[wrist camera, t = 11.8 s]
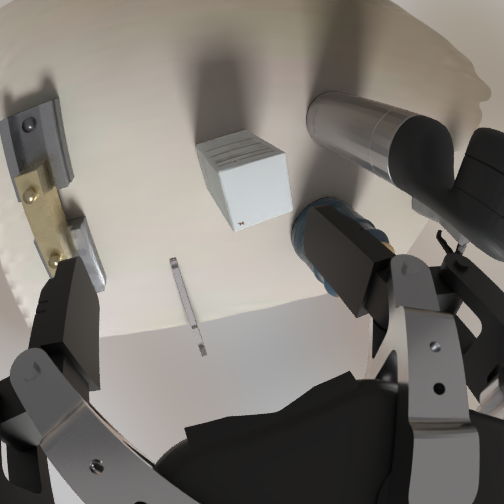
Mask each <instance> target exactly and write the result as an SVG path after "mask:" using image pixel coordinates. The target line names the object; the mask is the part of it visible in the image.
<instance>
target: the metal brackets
mask: <svg viewBox="0 0 504 504" xmlns="http://www.w3.org/2000/svg"><path fill="white" fill-rule="evenodd" d="M0 135H1V140H2V144H3V149H4V153H5V157H6V161H7V165H8V169H9V172H10V176H11V179H12V183H13V186H14V189H15V192H16V196H17V199H18V202H21V199H20V196H19V193H18V189H17V186H16V183H15V180H14V178H15V177H16V176H17V175H18V174H19V173H20V172H21V171H22V170H23V169H24V168H25V167H26V166H27V165H29V164H31V163H34V162H37V161H40V160H43V159H46V158H49V162H50V166H51V170H52V174H53V178H54V181H55V185H56V187H57V190H58V189H61V188H65V187H68V185H69V183H70V182H72V180H73V178H74V174H73V170H72V166H71V161H70V157H69V152H68V148H67V143H66V138H65V133H64V127H63V121H62V115H61V109H60V102H59V98H58V99H55V100H51V101H48V102H46V103H43V104H40V105H38V106H35V107H33V108H30V109H27V110H25V111H23V112H20V113H18V114H15V115H13V116H11V117H8V118H6V119H4V120H2V121H0ZM67 224H68V226H69V229H70V232H71V235H72V238H73V240H74V243H75V246H76V248H77V254H76V257H77V256H80V257H81V258H82V260H83V262H84V265H85V267H86V270H87V272H88V274H89V277H90V279H91V281H92V284H93V286H94V288H95V290H96V293H98V292H103V291H104V289H105V285H106V274H105V272H104V269H103V267H102V264H101V261H100V259H99V256H98V253H97V250H96V247H95V245H94V242H93V239H92V236H91V233H90V230H89V227H88V224H87V220H86V217H85V216H83V217H80V218H76V219H72V220H69V221H67ZM34 244H35V246H36V248H37V251H38V253H39V255H40V257H41V260H42V262H43V264H44V266H45V268H46V270H47V272H48V274H49V277H50V279H51V278H54V276H53V277H52V275H51V273H50V271H49V269H48V267H47V264H46V262H45V260H44V258H43V256H42V253H41V251H40V249H39V246H38V244H37V242H36V239H35V240H34Z"/></svg>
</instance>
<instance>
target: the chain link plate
mask: <svg viewBox="0 0 504 504" xmlns="http://www.w3.org/2000/svg"><path fill="white" fill-rule="evenodd" d="M14 180H15V183H16V186H17V189H18V193H19V196H20V199H21V202H22V205H23V208H24V210H25V213H26V216H27V219H28V221H29V224H30V227H31V229H32V232H33V234H34V237H35V239H36V242H37V244H38V246H39V249H40V251H41V253H42V256H43V258H44V260H45V262H46V264H47V267H48V269H49V271H50V273H51V275H52V277H53V276H55V272H56V269H57V265H58V262H59V261H61V260H65V259H69V258H73V257H76V254H77V248H76V246H75V243H74V240H73V238H72V235H71V232H70V229H69V226H68V224H67V221H66V218H65V215H64V212H63V208H62V205H61V202H60V199H59V195H58V192H57V189H56V185H55V181H54V178H53V174H52V170H51V166H50V162H49V158H46V159H43V160H40V161H37V162H34V163H31V164H29V165H27V166H26V167H25V168H24V169H23V170H22V171H21V172H20V173H19V174H18V175H17V176H16V177H15V178H14Z"/></svg>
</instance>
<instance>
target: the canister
mask: <svg viewBox="0 0 504 504" xmlns="http://www.w3.org/2000/svg"><path fill="white" fill-rule="evenodd" d="M325 204H329V205H331V206H332V207H334V208H335V209H336V210H337V211H339V212H340V213H341V214H342V215H345V216H347V217H349V218H351V219H353V220H355V221H356V222H358V223H359V224H360V225H361V226H363V227H364V230H365V229H366V230H367V231H369V232H370V233H371V235H372V236H374V237H376V238H377V239H378V240H379V241H380V242H381V243H383V244H384V245H385V246H386V247H387V248H388V249H390V250H391V251H392V252H393V253H394V254H395V252H394V249H393V247H392V246H391V245H390V244H389V240H388V237H387V235H386V234H385V233H384V232H383V231H381V230H379V229H376V228H375V226H374V225H373V224H372V223H371V222H370V221H369V220H367V219H365V218H363V217H362V216H361V215H359V214H358V213H357V212H356V211H354V210H353V209H352V207H351V206H349V205H348V204H347V203H345V202H344V201H341V200H338V199H336V198H323V199H320V200H317V201H315V202H313V203H312V204H310V205H309V206H308V207H306V208H305V209H304V210H303V211H302V212H301V214H300V215H299V216H298V218H297V220H296V222H295V224H294V226H293V229H292V236H291V239H292V244H293V247H294V249H295V252H296V253H297V255H298V256H299V257H300V259H301V260H302V261H304V262H305V263H306V264H307V266H308V267H309V268H310V269H311V270H312V272H313V273H314V275H315V277H316V278H317V279H318V280H319V281H320V282H321V283H323V284H324V287H325V289H326V291H327V292H328V293H329V294H330V295H332V296H334V297H339V296H338V294H337V293H336V292H335V291H334V290H333V288H332V287H331V286H330V285H329V284H328V282H327V281H326V280H325V279H324V278H323V276H322V275H321V274H320V273H319V272H318V270H317V269H316V268H315V267H314V266H313V264H312V263H311V262H310V261H309V260H308V258H307V256H306V254H305V250H304V236H305V225H306V214H307V210H308V208H310V207H314V206H320V205H325ZM339 298H340V297H339ZM340 299H341V298H340ZM341 300H342V299H341Z"/></svg>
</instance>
